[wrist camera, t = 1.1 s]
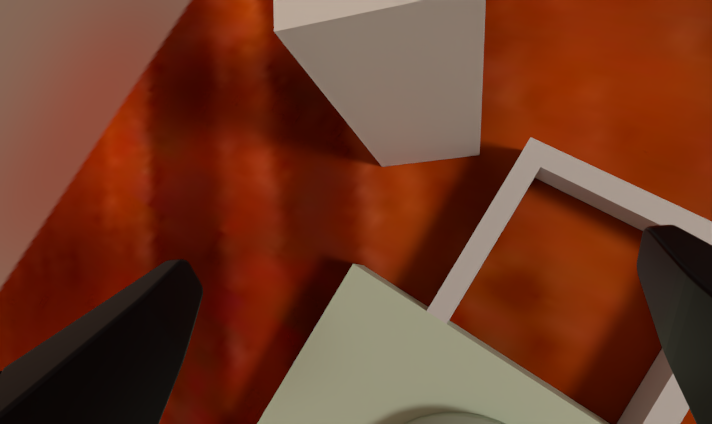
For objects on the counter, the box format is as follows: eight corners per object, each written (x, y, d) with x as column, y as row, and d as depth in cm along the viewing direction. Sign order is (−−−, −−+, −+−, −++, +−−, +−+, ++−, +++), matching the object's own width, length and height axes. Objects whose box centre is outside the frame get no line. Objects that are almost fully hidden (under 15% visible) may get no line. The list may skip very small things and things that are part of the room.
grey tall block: (479, 155, 22) (486, -13, 9) (381, 166, 23) (274, 31, 11) (472, 80, 22) (468, -168, 10) (377, 95, 24) (271, -109, 11)
